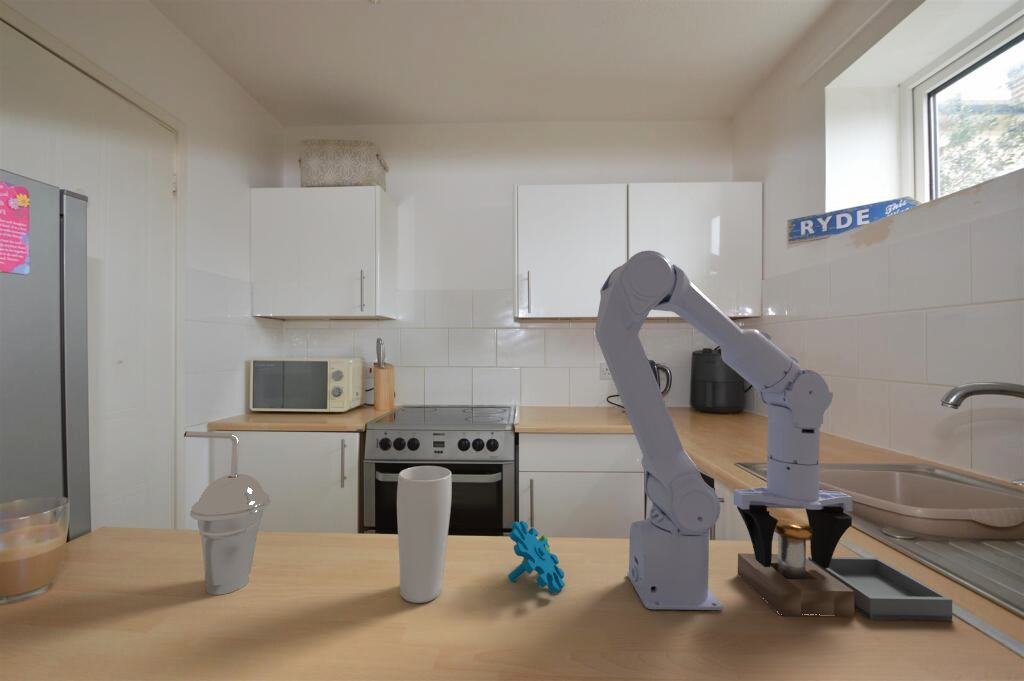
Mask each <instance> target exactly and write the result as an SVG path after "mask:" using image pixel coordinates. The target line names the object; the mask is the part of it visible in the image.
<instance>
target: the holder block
mask: <svg viewBox="0 0 1024 681" xmlns="http://www.w3.org/2000/svg"><path fill="white" fill-rule="evenodd" d="M738 575H739V576H740V577H741V578H742V579H741V578H740V577H739V576H738ZM737 576H738V577H739V578H740V579H741V580H742V581H743V582H744V583H746V585H747V586H749V587H750V589H752V588H753V589H754V590H755V591H756V592H757V593H758V594H759V595H760V596H761V597H762V598H764V600H763V601H765V600H766V601H767V602H768V603H767V602H766V601H765V602H766V603H767V604H768V605H769V604H770V605H771V606H772V607H773V608H774V609H775V610H776V611H778V613H779V614H780V615H781V614H782V615H802V614H803V615H804V614H809V615H810V614H814V615H815V614H817V615H819V614H820V615H835V616H834V617H837V616H847V618H848V617H849V616H850V617H849V618H851V617H852V618H853V617H855V608H854V591H853V590H852V589H850V588H849V587H847V586H846V585H844V584H843V583H841V582H840V581H838V580H837V579H835V578H834V577H833V576H831V575H830V574H828V573H827V572H825V571H824V570H822V569H821V568H819V567H818V566H816V565H815V564H814V563H812V562H811V561H809V560H808V558H806V570H805V579H786V578H785V577H784V576H782V575H781V574H780V573H779V572H778V553H772V561H771V565H770V567H764V566H763V565H761V564H760V563H759V562H758V561H757V560H756V559H755V554H754V553H737ZM753 589H752V590H753ZM754 590H753V591H754ZM755 591H754V592H755ZM756 592H755V593H756ZM757 593H756V594H757ZM758 594H757V595H758ZM759 595H758V596H759ZM760 596H759V597H760ZM761 597H760V598H761ZM762 598H761V599H762ZM770 605H769V606H770ZM771 606H770V607H771ZM772 607H771V608H772ZM773 608H772V609H773ZM774 609H773V610H774ZM775 610H774V611H775ZM776 611H775V612H776ZM778 613H777V614H778ZM779 614H778V615H779ZM780 615H779V616H780Z"/></svg>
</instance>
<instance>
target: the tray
mask: <svg viewBox="0 0 1024 681" xmlns="http://www.w3.org/2000/svg"><path fill="white" fill-rule="evenodd" d="M807 557H808V558H807V559H808V560H809V561H811V562H812V563H814V564H815V565H816V566H818V567H819V568H821V569H822V570H824V571H825V572H827V573H828V574H830V575H831V576H833V577H834V578H835V579H837V580H838V581H840V582H841V583H843V584H844V585H846V586H847V587H849V588H850V589H852V590H853V591H854V610H856V611H857V612H859V613H860V614H862V615H863V616H864V617H866V618H867V619H869V620H873V621H876V620H878V621H924V622H925V621H937V622H952V621H953V599H952V598H950V597H948V596H947V595H945V594H943V593H941V592H939V591H937V590H936V589H934V588H932V587H930V586H928V585H927V584H925V583H923V582H921V581H919V580H918V579H916V578H914V577H912V576H911V575H909V574H907V573H906V572H903V571H902V570H899V569H898V568H896V567H894V566H892V565H891V564H889V563H887V562H885V561H884V560H881V559H879V558H878V557H857V556H856V557H853V556H851V557H849V556H846V557H844V556H842V557H841V556H832V559H831V562H830V565H829V567H828V568H823V567H821V566H820V565H818V564H817V563H815V562H814V561H812V557H811V556H807Z"/></svg>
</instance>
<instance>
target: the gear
mask: <svg viewBox="0 0 1024 681" xmlns="http://www.w3.org/2000/svg"><path fill="white" fill-rule="evenodd" d="M510 528H511V532H509V538H510V539H511V540H512V541H513V542H515V544H514V546H513V551H514V554H515V555H517V557H521V558H523V559H522V561H521V563H520V564H519V565H518V566H517V567H515V569H513V571H511V572H510V573H508V574H507V575H508V576H507V577H508V579H509V580H510V582H512V583H514V582H515V581H516V580H517V579H518V578H519V577H520V576H521V575H523V574H524V573H525V572H526V573H527V574H529V575H530V574H531V573H532V572H533V571H534V572H536V573H537V574H538V576H537V577H536V578H535V581H536V583H537V584H538V585H539V586H540V587H541V589H543V588H545V587H546V586H547V589H548V590H549V592H550V593H552V594H554V595H556V594H557V593H558V592H559V591H561V590H562V589H563V588H564V587H565V586H566V583H565V581H564V580H563V578H565V571H563V569H562V568H560V567H559V566H558V564H560V561H559V558H558V556H557V555H556V554H555V553H551V552H550V550H551V549H550V545H549V543H548V541H549V539H548V537H547V536H546V535H545V534H543V535H542V536H540V537H539V538H537V537H538V536H539V532H538V531H537V529H536V528H535V527H534V526H532V527H531V528H529V525H528V524H527V523H526V522H525V521H524V520H521V521H520V522H518V521H514V522H513V523H512V524H511V525H510Z"/></svg>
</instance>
